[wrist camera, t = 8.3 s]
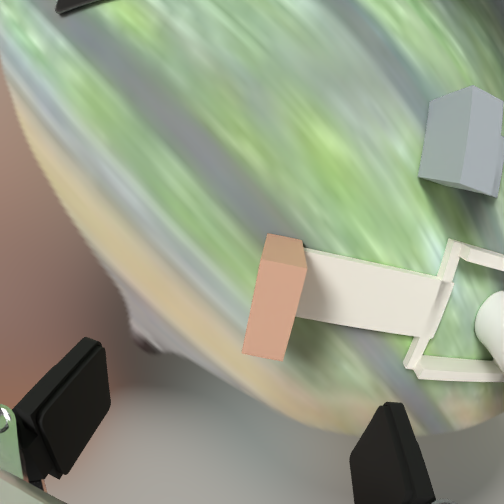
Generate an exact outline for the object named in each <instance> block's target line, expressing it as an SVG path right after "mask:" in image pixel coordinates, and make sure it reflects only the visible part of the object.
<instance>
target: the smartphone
mask: <svg viewBox="0 0 504 504" xmlns="http://www.w3.org/2000/svg"><path fill="white" fill-rule="evenodd" d="M98 1H102V0H57V2H56V6H55V11H56V13H58V14H61V13H64V12H67V11H70V10H73V9H76V8H79V7H82V6H85V5H88V4H92V3H95V2H98Z"/></svg>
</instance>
